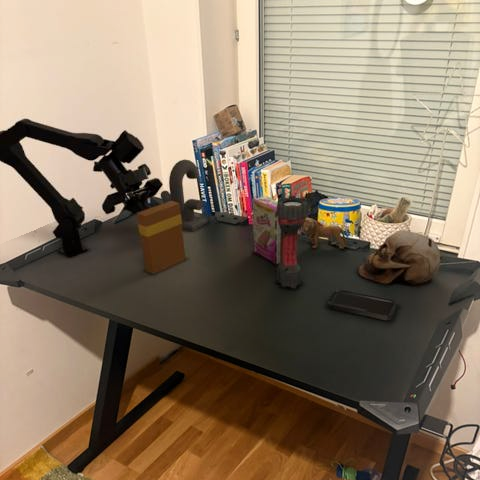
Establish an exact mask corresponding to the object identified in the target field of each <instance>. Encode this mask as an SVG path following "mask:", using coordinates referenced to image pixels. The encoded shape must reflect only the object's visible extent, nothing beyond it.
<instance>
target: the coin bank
mask: <svg viewBox="0 0 480 480" xmlns="http://www.w3.org/2000/svg"><path fill="white" fill-rule="evenodd" d="M440 267H441V251H440V248H439V247H438V244H437V243H436V242H435V241H434V239H432V238H431V237H429V236H427V235H425V234H422V233H418V232H415V231H411V230H405V229H400V230H397V231H395V232H393V233H392V234H389V236H387V237H386V239H385V240H384V241H383V243H382V244H379V248H378V249H377V250H376V251H375V252H373V253H371V254H370V255H369V256H368V257H367V258H366V260H365V263H364V264H362V265H360V266H359V268H358V274H359V275H360V276H361V277H362V278H365V279H367V280H370V281H373V282H374V283H375V282H376V283H379V284H381V285H383V286H384V285H385V286H386V285H390V283H392V282H393V281H397V282H406V283H408V284H410V285H412V286H414V285H415V286H416V285H419V284H423V283H426V282H428V281H430V280H431V279H432V278H434V277H435V276H436V275H437V274H438V272H439V269H440Z"/></svg>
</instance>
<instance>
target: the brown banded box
mask: <svg viewBox="0 0 480 480" xmlns="http://www.w3.org/2000/svg"><path fill="white" fill-rule="evenodd" d="M149 208H150V209H147V210H144V211H141V212H138V213H137V215H136V217H137V226H138V231H139V237H140V243H141V249H142V250H141V251H142V255H143V262H144V268H145V271H146V272H148V273H149V274H152V275H155V274H157V273H159V272H161V271H163V270H166V269H168V268H170V267H172V266H174V265H176V264H179V263H181V262H184V261H185V260H186V253H185V252H186V250H185V242H184V234H183V229H182V220H181V213H180V203H177V202H174V201H169V202H166V203H161V204H158V205H155V206H152V207H149Z"/></svg>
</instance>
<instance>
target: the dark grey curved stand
mask: <svg viewBox="0 0 480 480" xmlns="http://www.w3.org/2000/svg"><path fill="white" fill-rule="evenodd" d="M185 176H186V178H187V179H189V180H196V179H199V178H200V172H199V168H198V166H197V165H196V164H195V163H194V162H193V161H192V160H191V159H181V160H179V161H177V162H176V163H175V164H174V165H173V166H172V168H171V170H170V174H169V176H168V177H169V178H168V187H169V191H168V190H163V191H161V192H160V198H161V200H162V202H163V203H162V204H164V203H166V202H169V201H174V202H177V203H180V213H181V220H182V230H184V231H190V232H194V231H196V230H197V229H198V230H199V228H201V227H203V226H205V225H207V224H208V219H207V218H204V217H200V216H196V215H195V211H201V210H202V209H203V207H204V206H203V205H204V203H203V201H202V200H201V199H195V198H189V199H187V200H185V194H184V185H183V181H184V177H185Z"/></svg>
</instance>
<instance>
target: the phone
mask: <svg viewBox="0 0 480 480" xmlns="http://www.w3.org/2000/svg"><path fill="white" fill-rule="evenodd" d="M327 307H328V309H332V310H336V311H341V312H345V313H350V314H355V315H358V316H363V317H368V318H372V319H377V320H382V321H390V320H391V319H392V317H393V315H394V313H395V311H396V308H397V301H396V300H394V299H388V298H383V297H378V296H372V295H368V294H364V293H360V292H359V293H358V292H353V291H350V290H349V291H348V290H345V289H344V290H343V289H336V290H335V291H334V292H333V294H332V295H331V297H330V298H329V299H328V301H327Z"/></svg>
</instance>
